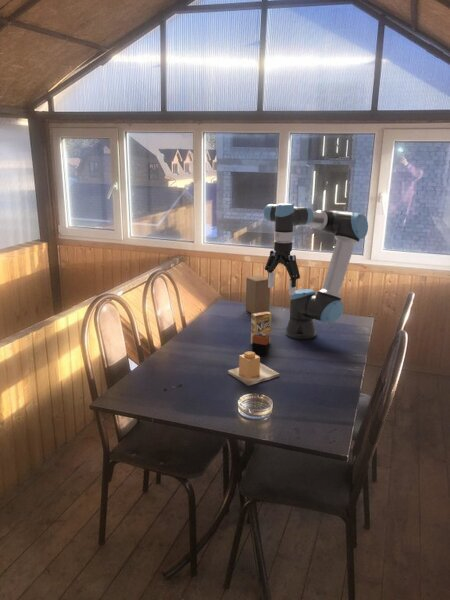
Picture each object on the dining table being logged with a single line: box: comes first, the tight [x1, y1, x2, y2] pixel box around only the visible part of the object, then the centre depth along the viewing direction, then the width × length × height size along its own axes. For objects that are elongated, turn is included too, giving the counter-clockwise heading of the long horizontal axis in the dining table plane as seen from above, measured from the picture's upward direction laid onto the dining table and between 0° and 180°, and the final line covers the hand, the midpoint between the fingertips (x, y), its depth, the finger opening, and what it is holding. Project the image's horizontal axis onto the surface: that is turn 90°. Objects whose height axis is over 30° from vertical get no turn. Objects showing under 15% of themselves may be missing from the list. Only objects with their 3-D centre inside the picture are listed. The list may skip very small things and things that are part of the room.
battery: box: [251, 332, 270, 357], centre depth 226 cm, size 4×7×10 cm, turn 65°
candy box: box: [250, 311, 272, 345], centre depth 237 cm, size 9×4×15 cm, turn 116°
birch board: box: [227, 362, 280, 387], centre depth 205 cm, size 16×14×7 cm
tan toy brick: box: [238, 350, 261, 379], centre depth 202 cm, size 6×6×9 cm
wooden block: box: [245, 275, 271, 314], centre depth 284 cm, size 10×10×20 cm
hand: (281, 290), depth 213 cm, fingers open, 13 cm apart
